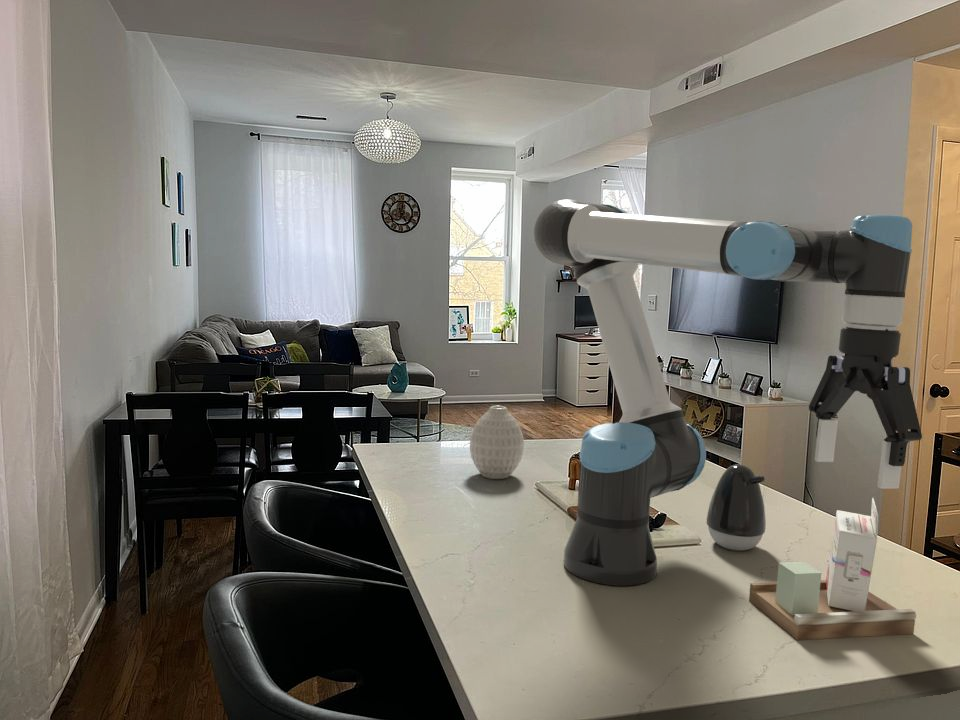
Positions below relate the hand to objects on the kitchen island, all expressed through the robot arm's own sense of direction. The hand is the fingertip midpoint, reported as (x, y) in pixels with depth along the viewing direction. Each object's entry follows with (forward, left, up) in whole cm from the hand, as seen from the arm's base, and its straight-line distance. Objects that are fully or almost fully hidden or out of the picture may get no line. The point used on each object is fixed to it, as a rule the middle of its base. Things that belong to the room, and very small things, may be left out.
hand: (853, 474), depth 105 cm
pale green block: (-9, -2, -19) cm, 21 cm away
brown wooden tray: (-3, -1, -21) cm, 21 cm away
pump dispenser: (-2, +27, -21) cm, 34 cm away
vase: (-37, +75, -21) cm, 86 cm away
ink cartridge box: (0, 0, -19) cm, 19 cm away
